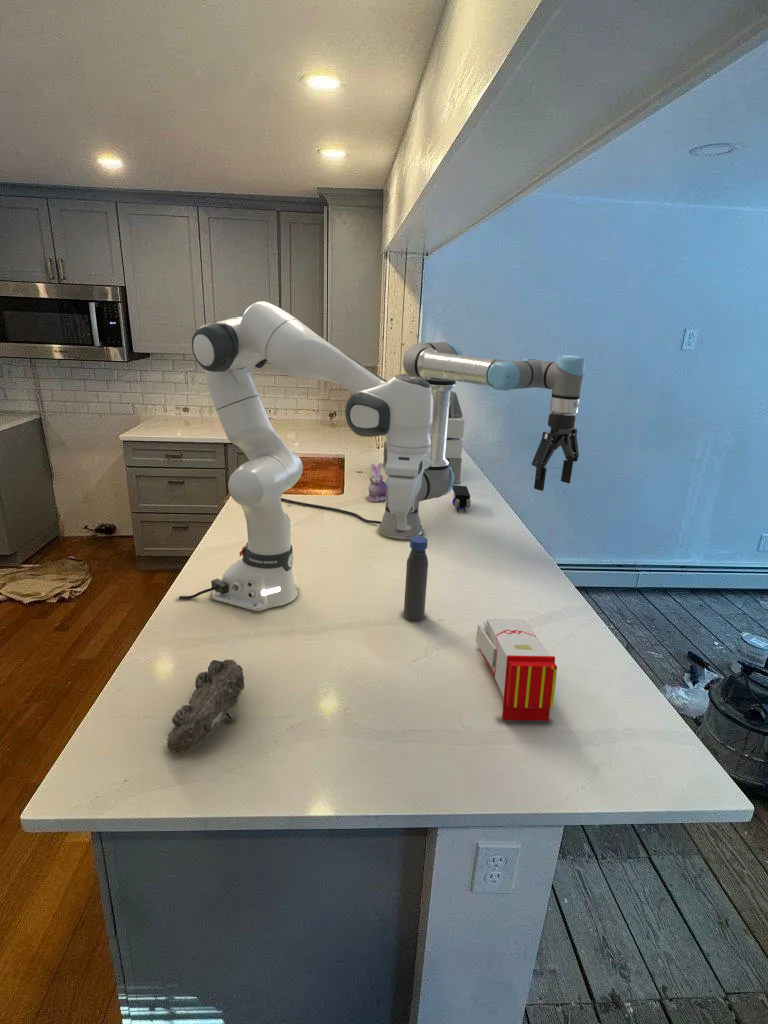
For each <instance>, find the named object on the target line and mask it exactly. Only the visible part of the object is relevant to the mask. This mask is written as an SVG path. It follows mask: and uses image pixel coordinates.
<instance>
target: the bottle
mask: <svg viewBox="0 0 768 1024" xmlns="http://www.w3.org/2000/svg"><path fill="white" fill-rule="evenodd" d="M405 569H406V570H405V572H406V573H405V584H404V585H405V587H404V602H403V618H405V619H407V620H409V621H411V622H416V621H417V622H418V621H422V620H423V619H424V618H425V611H426V596H427V584H428V572H429V559H428V555H427V553H426V550H422V551H417V550H413V549H411V548H410V552H409V554H408V557H407V560H406V568H405Z"/></svg>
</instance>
